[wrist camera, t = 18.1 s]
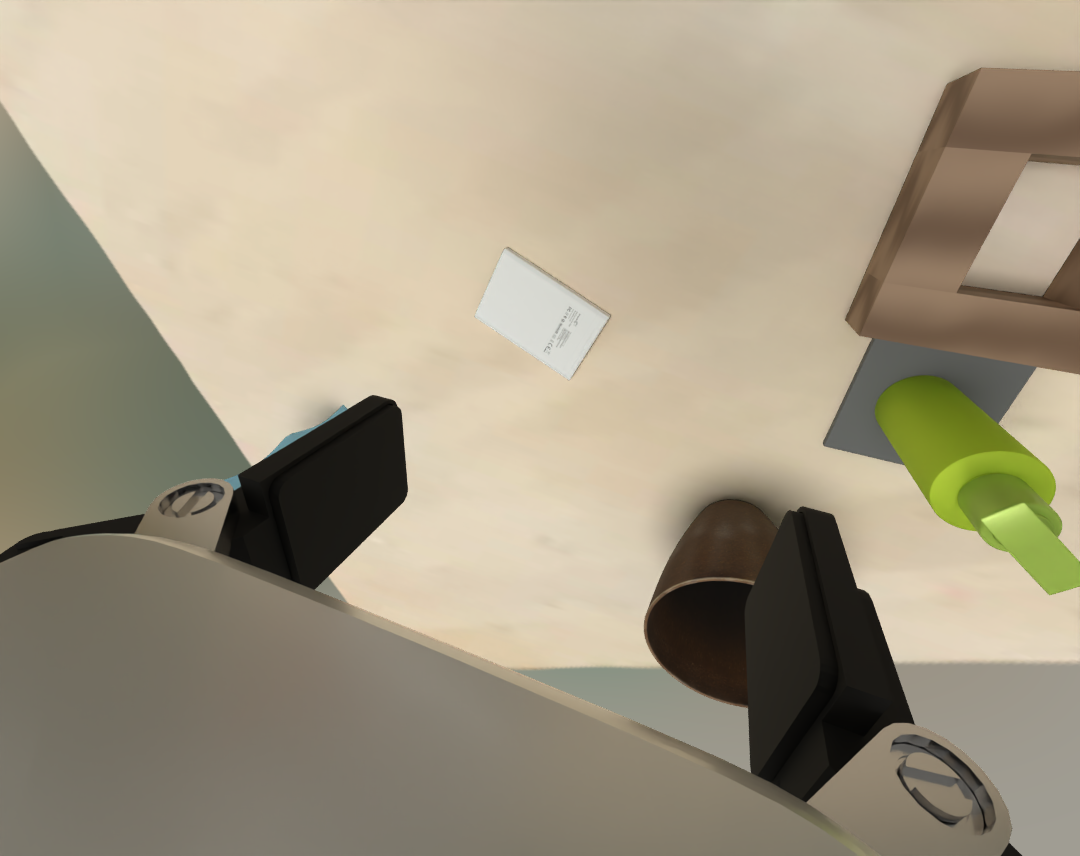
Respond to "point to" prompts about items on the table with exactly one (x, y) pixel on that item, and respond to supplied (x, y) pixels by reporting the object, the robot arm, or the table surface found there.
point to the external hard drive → (540, 314)
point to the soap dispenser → (978, 475)
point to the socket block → (976, 226)
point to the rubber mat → (895, 361)
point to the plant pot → (710, 600)
